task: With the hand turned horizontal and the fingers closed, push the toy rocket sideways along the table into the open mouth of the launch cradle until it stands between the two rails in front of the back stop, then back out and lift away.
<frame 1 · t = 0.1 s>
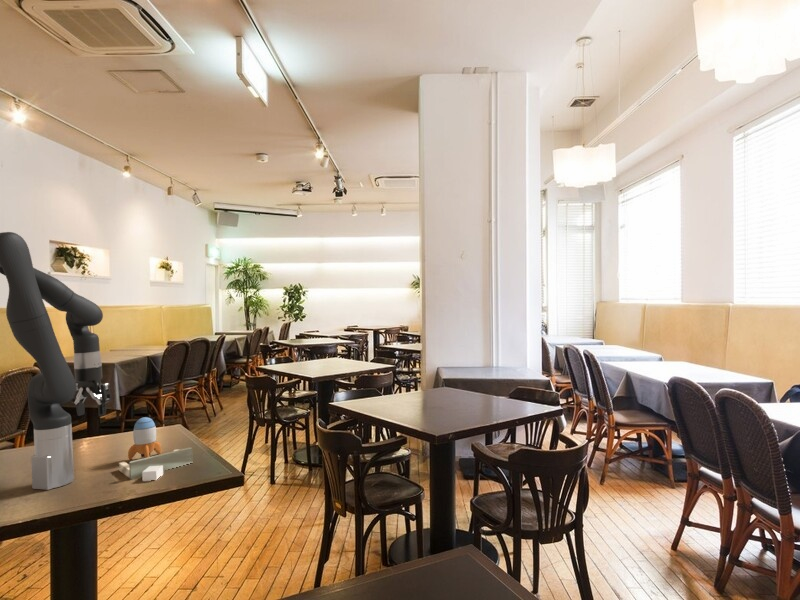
hand: (91, 415, 157), 17 cm above the table, tool pointing down, fingers open, 8 cm apart
cradle: (154, 465, 157), on the table
toy rocket: (142, 459, 166), on the table
fin block: (153, 478, 146), on the table
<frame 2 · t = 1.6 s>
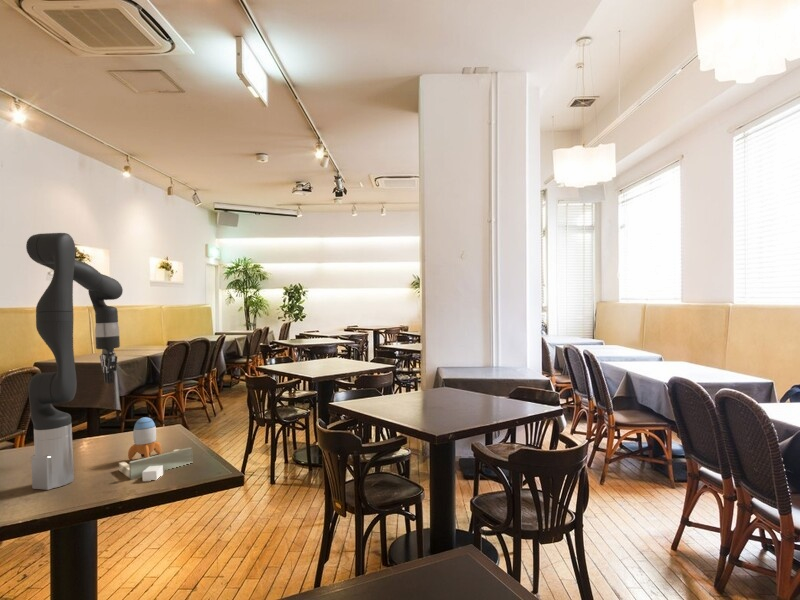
hand: (109, 382, 176), 25 cm above the table, tool pointing down, fingers open, 3 cm apart
nothing on the table moved.
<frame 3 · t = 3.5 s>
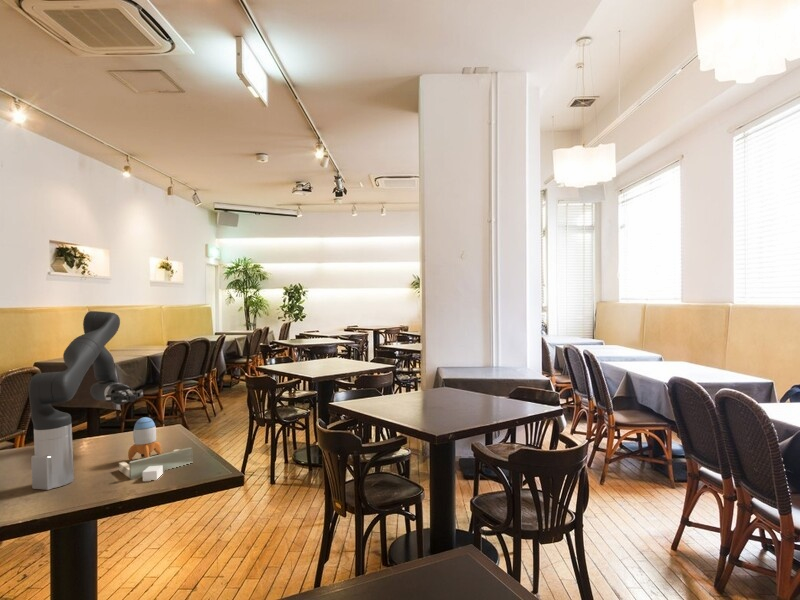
hand: (132, 398, 172), 20 cm above the table, tool horizontal, fingers closed
nothing on the table moved.
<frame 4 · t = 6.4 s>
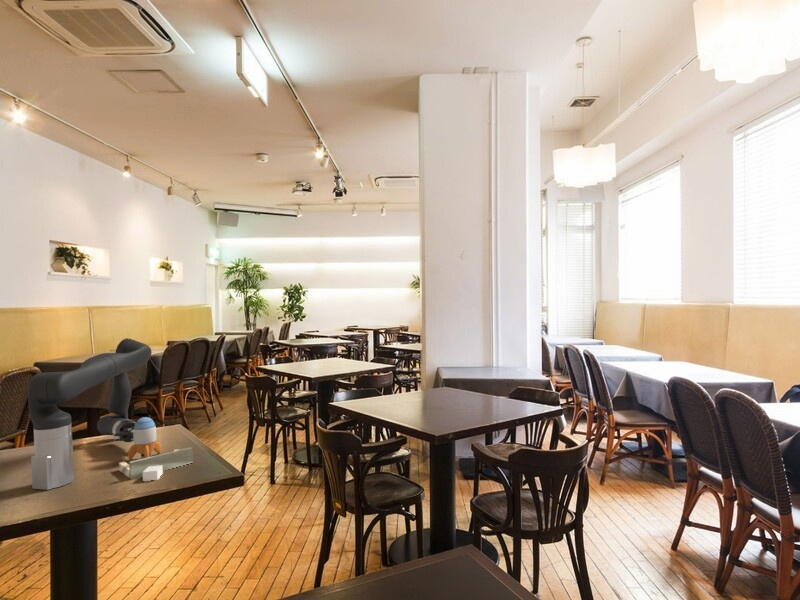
hand: (142, 437, 168), 7 cm above the table, tool horizontal, fingers closed
toy rocket: (142, 459, 166), on the table, touching gripper
everything else where it was.
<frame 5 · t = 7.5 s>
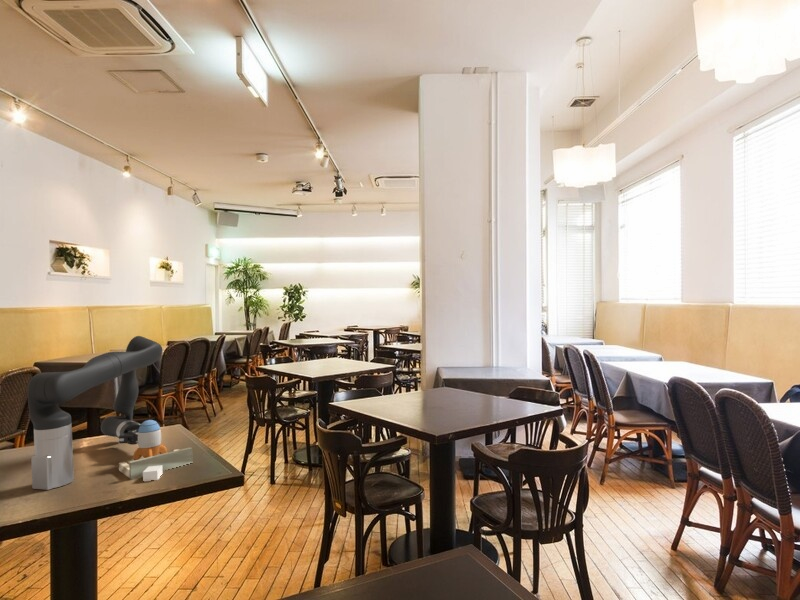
hand: (147, 439, 164), 7 cm above the table, tool horizontal, fingers closed
toy rocket: (147, 463, 161), on the table, touching gripper
everything else where it was.
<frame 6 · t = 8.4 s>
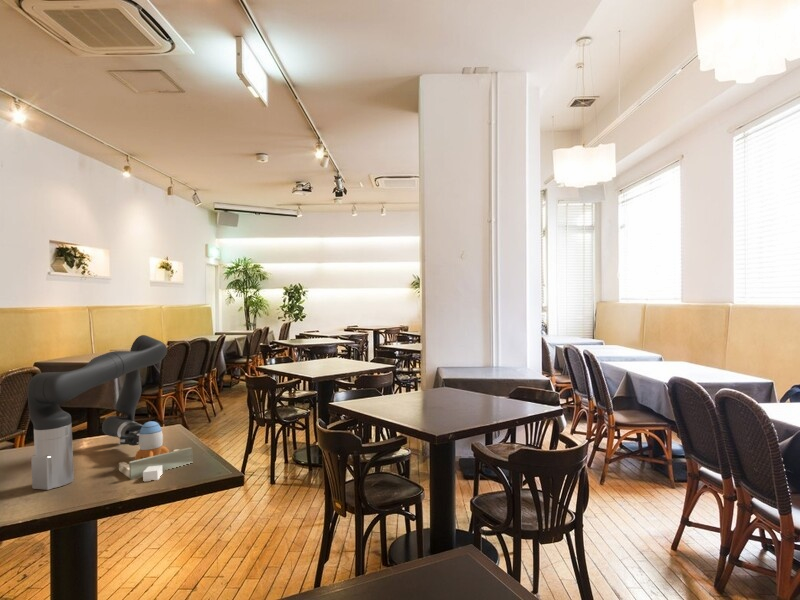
hand: (148, 440, 161), 7 cm above the table, tool horizontal, fingers closed
toy rocket: (149, 465, 159), on the table, touching gripper
everything else where it was.
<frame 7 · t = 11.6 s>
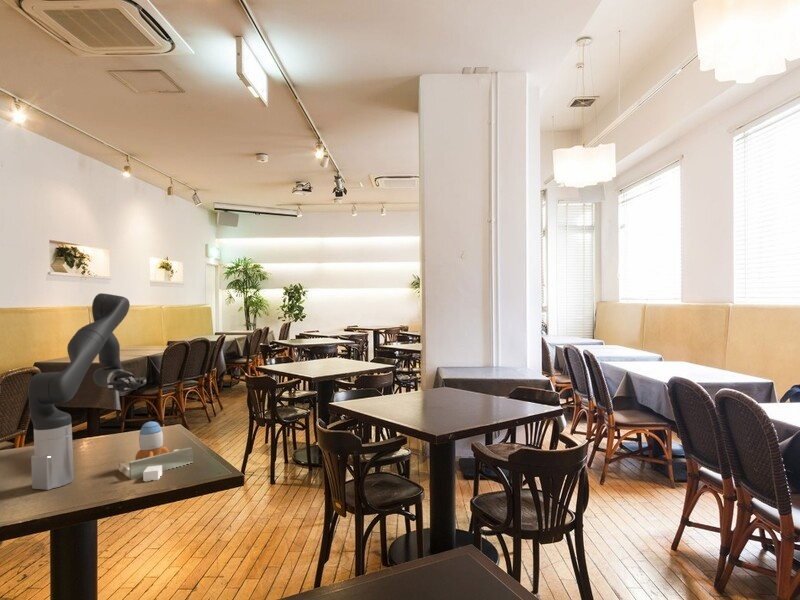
hand: (134, 386, 168), 24 cm above the table, tool horizontal, fingers closed
toy rocket: (149, 465, 159), on the table
everything else where it was.
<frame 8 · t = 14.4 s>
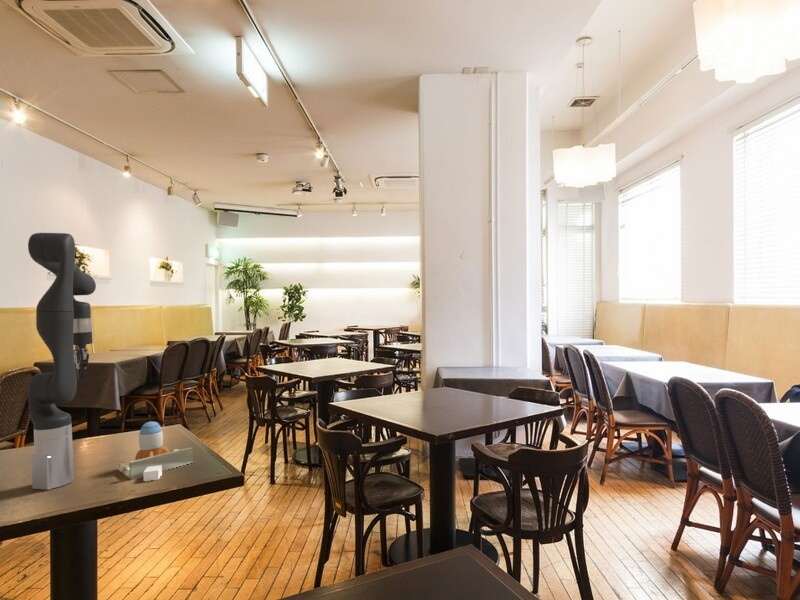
hand: (81, 379, 174), 27 cm above the table, tool pointing down, fingers closed
nothing on the table moved.
at the end: toy rocket inside the target area on the cradle (3.3 cm from its centre), point 0.0 cm above the cradle's base; toy rocket tilted 2°; toy rocket moved 8.8 cm from its start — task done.
